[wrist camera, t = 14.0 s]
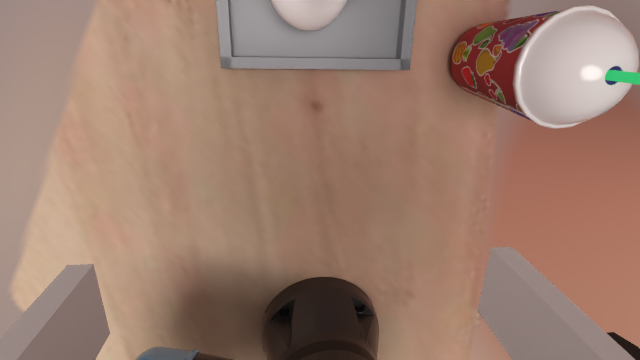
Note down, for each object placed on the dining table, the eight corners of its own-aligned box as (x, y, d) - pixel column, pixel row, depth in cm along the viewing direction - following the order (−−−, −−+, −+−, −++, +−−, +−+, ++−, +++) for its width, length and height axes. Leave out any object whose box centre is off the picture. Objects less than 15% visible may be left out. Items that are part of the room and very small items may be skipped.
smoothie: (481, 112, 41) (646, 176, 23) (422, 73, 39) (552, 109, 21) (530, 43, 39) (758, 52, 21) (471, -2, 37) (667, -39, 18)
